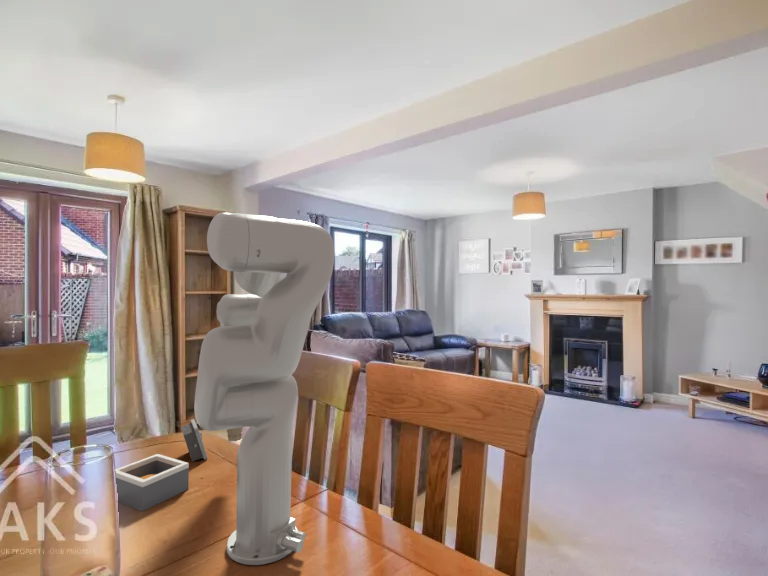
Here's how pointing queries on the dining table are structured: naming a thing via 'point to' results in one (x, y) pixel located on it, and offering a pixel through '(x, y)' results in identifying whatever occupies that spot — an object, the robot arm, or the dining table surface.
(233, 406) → the robot arm
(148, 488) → the box
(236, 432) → the handle
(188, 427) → the electrical switch
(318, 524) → the dining table surface
